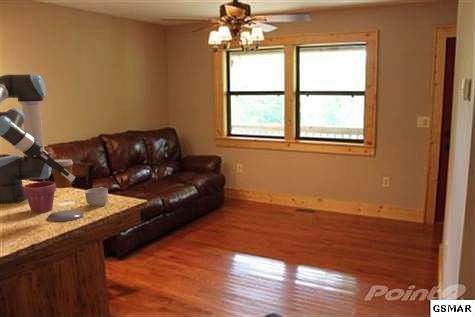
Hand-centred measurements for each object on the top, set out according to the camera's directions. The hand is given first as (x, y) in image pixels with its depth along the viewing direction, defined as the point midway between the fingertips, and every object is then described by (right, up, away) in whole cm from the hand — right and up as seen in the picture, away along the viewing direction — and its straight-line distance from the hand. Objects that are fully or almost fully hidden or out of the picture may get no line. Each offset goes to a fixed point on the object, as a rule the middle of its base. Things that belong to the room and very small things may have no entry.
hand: (70, 177), depth 190 cm
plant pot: (-18, -16, +12) cm, 27 cm away
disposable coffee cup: (-3, -4, -1) cm, 5 cm away
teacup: (+6, -15, +21) cm, 27 cm away
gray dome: (-2, -18, +1) cm, 18 cm away
